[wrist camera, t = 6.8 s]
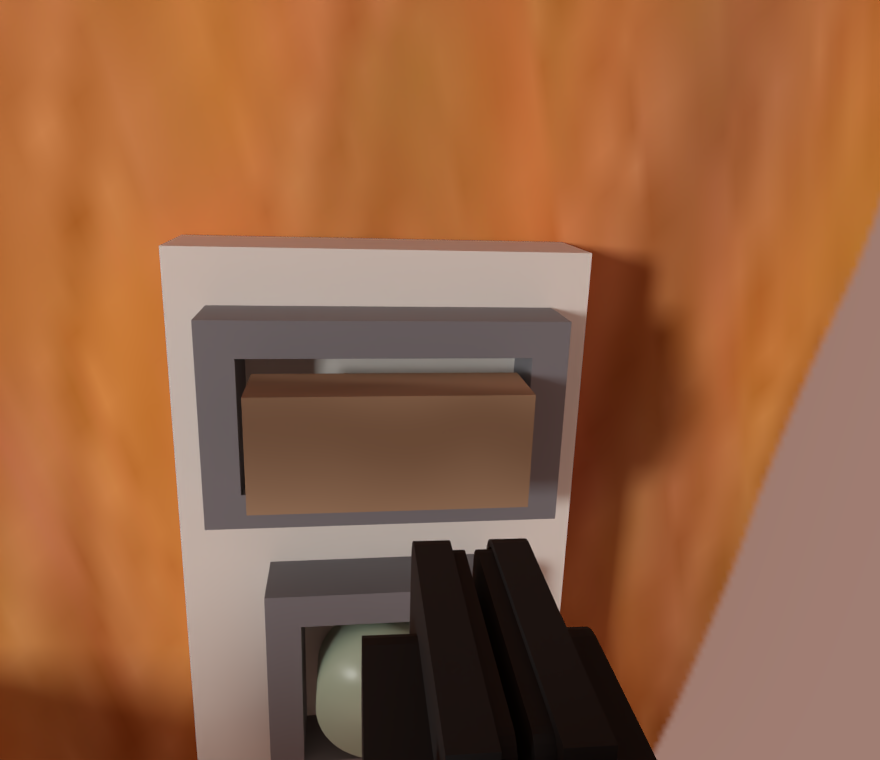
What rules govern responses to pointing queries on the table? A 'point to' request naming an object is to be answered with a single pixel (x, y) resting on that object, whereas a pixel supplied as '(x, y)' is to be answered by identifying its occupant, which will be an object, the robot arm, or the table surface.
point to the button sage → (345, 682)
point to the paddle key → (386, 442)
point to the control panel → (352, 533)
